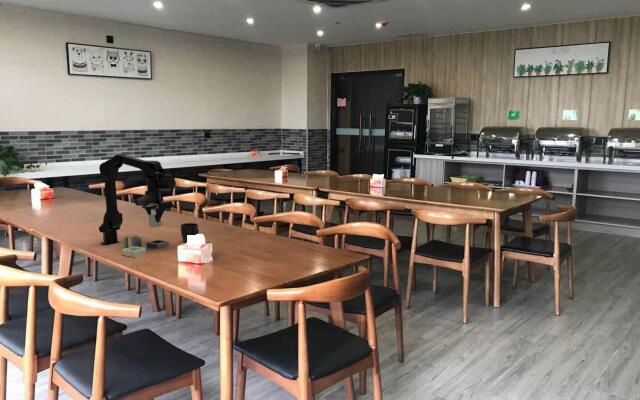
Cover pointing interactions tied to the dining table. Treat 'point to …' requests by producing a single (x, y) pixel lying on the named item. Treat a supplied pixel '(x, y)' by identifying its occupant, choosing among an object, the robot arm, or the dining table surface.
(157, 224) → the grey block
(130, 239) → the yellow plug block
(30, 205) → the dining table surface
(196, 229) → the mug
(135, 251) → the grey square frame
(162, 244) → the socket block
